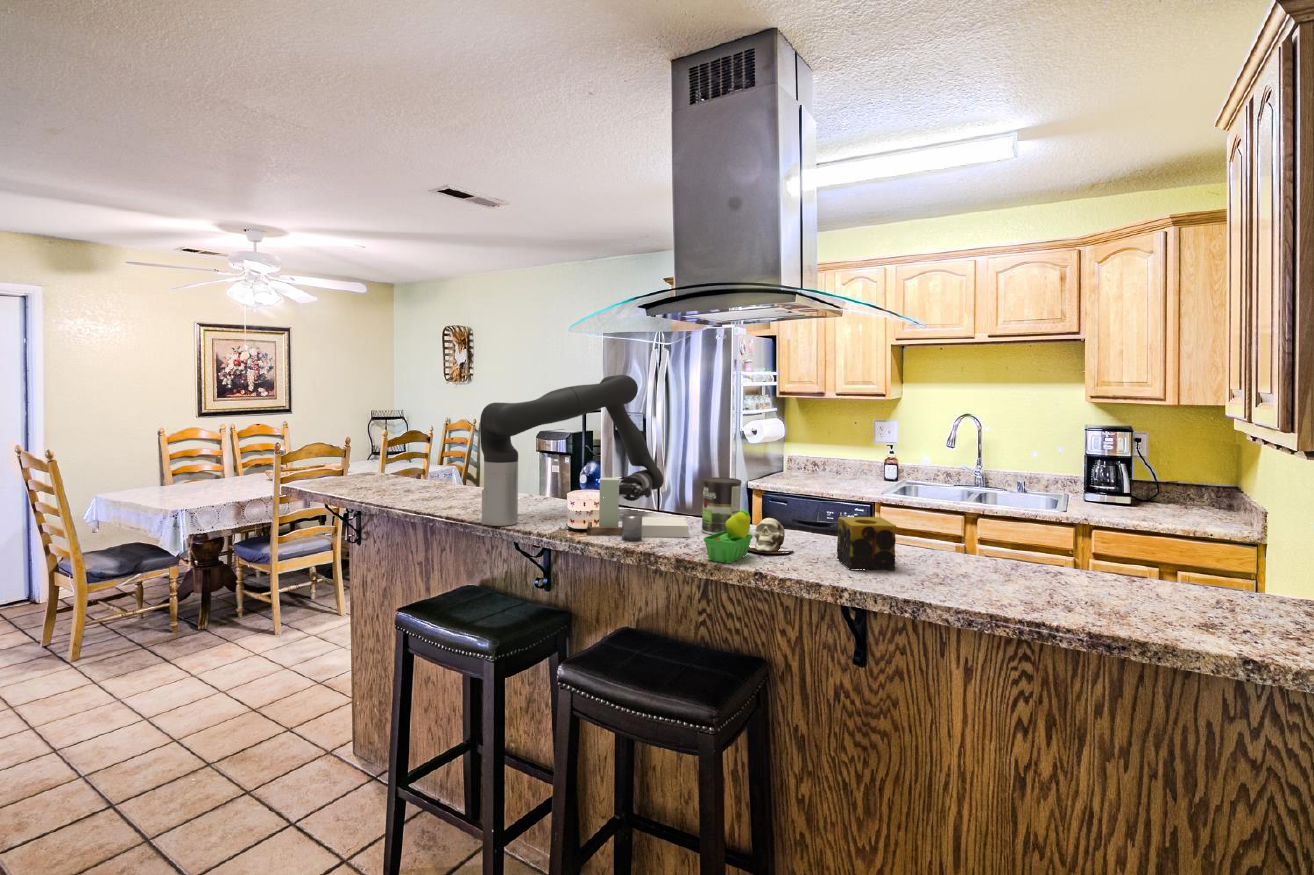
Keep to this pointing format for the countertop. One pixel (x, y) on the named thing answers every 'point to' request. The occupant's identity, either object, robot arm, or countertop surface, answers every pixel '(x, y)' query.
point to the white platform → (664, 527)
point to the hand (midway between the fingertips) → (620, 493)
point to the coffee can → (719, 503)
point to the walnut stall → (603, 530)
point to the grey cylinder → (632, 527)
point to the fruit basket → (730, 539)
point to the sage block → (609, 502)
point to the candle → (866, 543)
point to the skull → (769, 536)
